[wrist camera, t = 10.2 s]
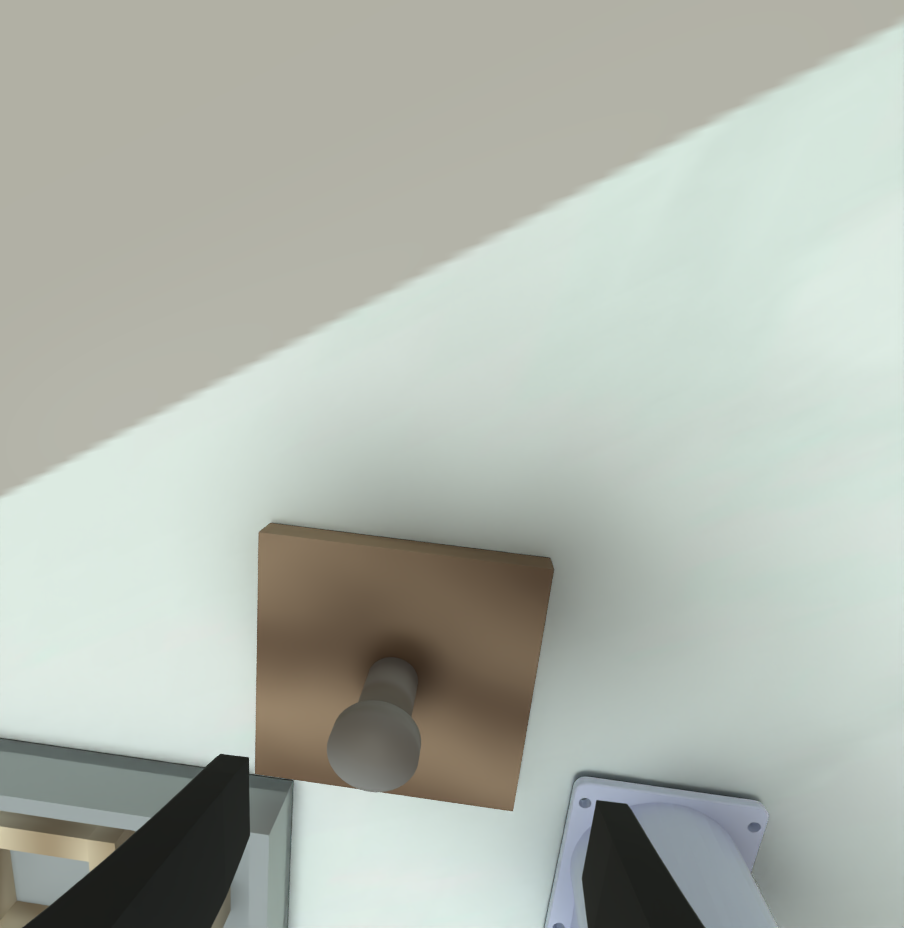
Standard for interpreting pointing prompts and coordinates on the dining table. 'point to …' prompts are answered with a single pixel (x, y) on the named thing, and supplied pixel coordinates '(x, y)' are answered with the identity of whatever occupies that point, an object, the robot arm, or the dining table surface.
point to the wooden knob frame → (61, 839)
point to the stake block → (396, 663)
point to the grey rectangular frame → (139, 821)
